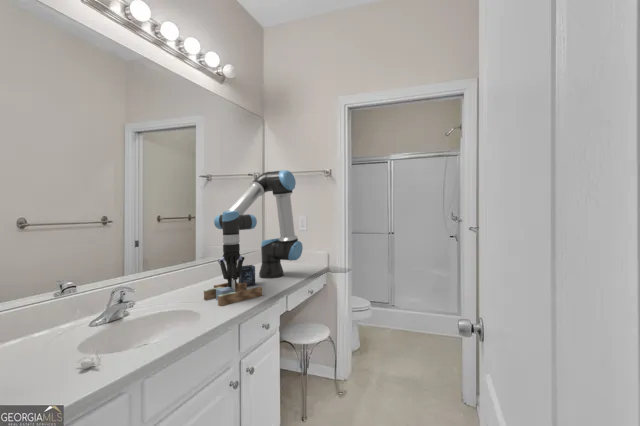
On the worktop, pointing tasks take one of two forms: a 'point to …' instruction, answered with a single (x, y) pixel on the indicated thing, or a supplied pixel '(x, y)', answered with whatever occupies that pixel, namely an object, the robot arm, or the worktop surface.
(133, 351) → the worktop surface
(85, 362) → the dove figurine
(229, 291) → the block
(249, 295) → the wooden zigzag frame
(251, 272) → the box
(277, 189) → the robot arm
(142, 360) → the worktop surface
